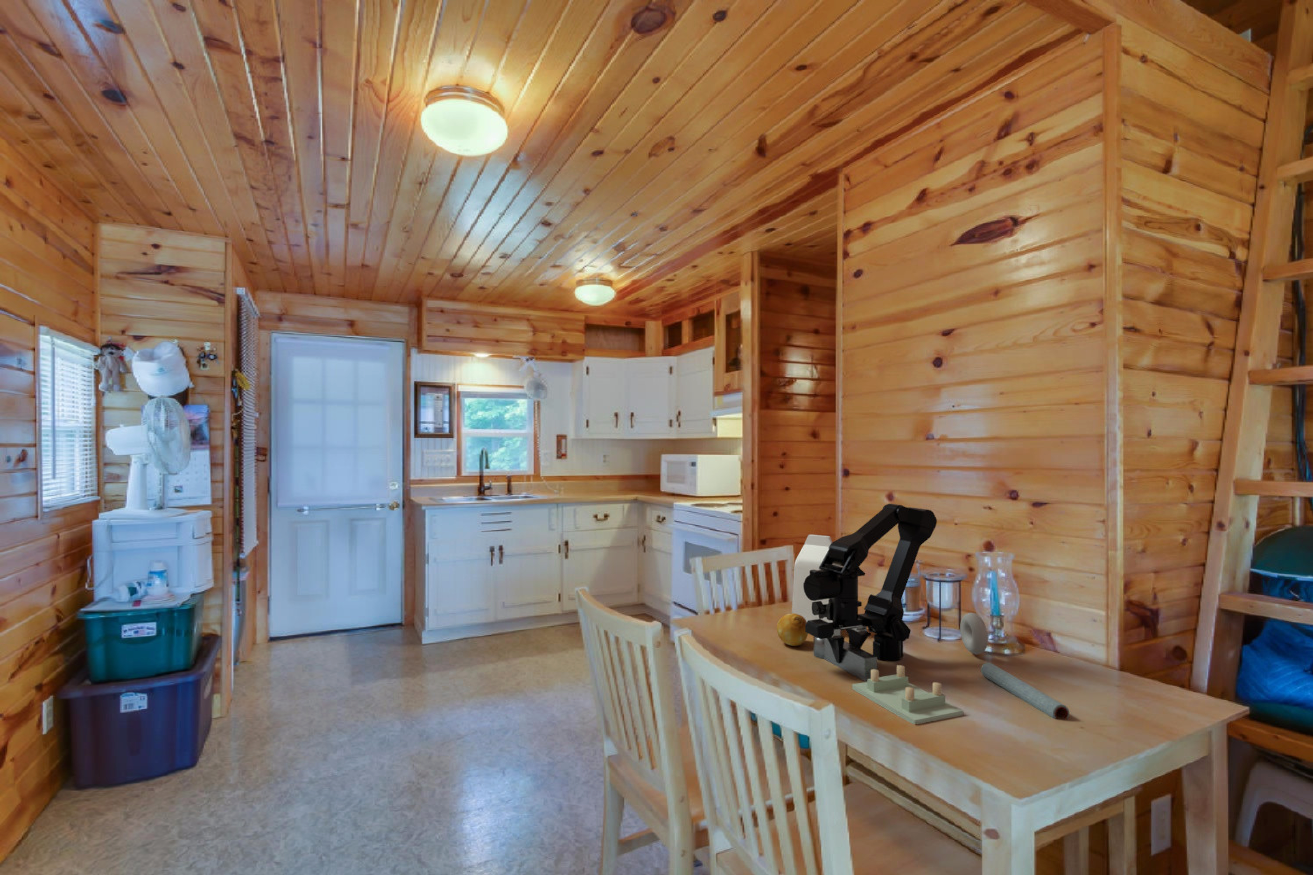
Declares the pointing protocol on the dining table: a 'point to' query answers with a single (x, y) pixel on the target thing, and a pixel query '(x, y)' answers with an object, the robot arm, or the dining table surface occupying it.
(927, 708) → the rack
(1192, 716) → the dining table surface
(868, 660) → the long grey rectangular beam
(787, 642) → the fruit
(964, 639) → the donut
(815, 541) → the milk
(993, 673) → the aluminum foil
